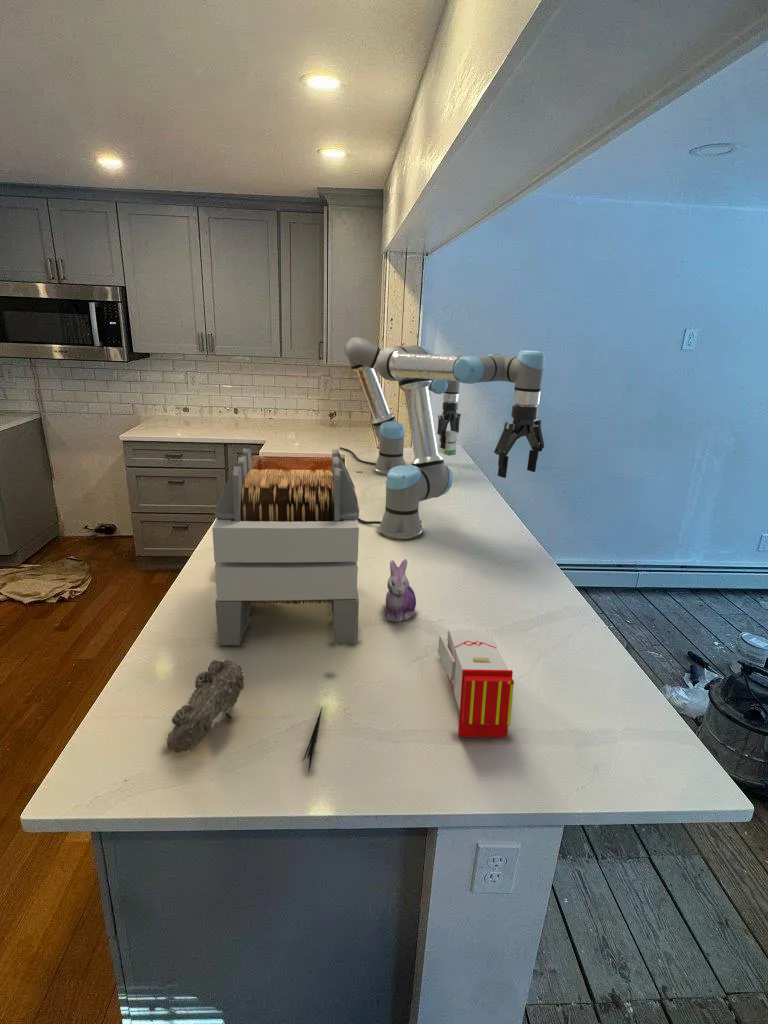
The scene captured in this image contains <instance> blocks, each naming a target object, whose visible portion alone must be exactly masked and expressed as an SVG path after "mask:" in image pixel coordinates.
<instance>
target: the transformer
mask: <svg viewBox="0 0 768 1024" xmlns="http://www.w3.org/2000/svg"><path fill="white" fill-rule="evenodd" d="M331 454H332V455H331V458H332V459H331V469H325V470H324V469H315V470H311V469H289V470H283V469H281V468H280V469H278V468H277V469H273V468H271V469H269V468H266V469H265V468H260V469H259V468H258V469H257V468H252V466H253V465H252V452H251V448H243V449H242V451H241V453H240V455H239V457H238V460H237V462H236V464H235V465H234V466H233V468H232V470H231V473H230V475H229V477H228V479H227V482H226V484H225V486H224V488H223V491H222V492H221V495H220V497H219V499H218V501H217V504H216V506H215V509H214V517H215V518H216V520H214V523H213V525H212V543H213V544H212V545H213V561H214V563H215V564H216V562H217V564H216V567H215V566H214V574H215V591H216V599H215V604H214V605H215V619H216V620H215V621H216V629H217V641H218V642H217V646H219V647H220V646H221V647H225V646H240V644H241V643H242V640H243V637H244V634H245V632H246V629H247V627H248V624H249V615H251V611H252V606H253V605H272V604H273V605H278V604H279V605H281V604H282V605H290V604H292V605H297V604H299V605H300V604H309V605H310V604H315V605H316V604H331V623H332V624H331V626H332V644H351V645H355V644H356V643H357V642H359V607H360V605H359V603H360V598H359V591H358V575H359V574H358V571H359V566H358V562H359V538H360V537H359V535H360V526H359V521H358V520H357V518H359V517H360V507H359V503H358V497H357V493H356V486H355V484H354V482H353V480H352V477H351V475H350V473H349V471H348V468H347V466H346V464H345V462H344V460H343V458H342V455H341V454H340V451H339V450H338V449H332V453H331Z"/></svg>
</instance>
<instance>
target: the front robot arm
mask: <svg viewBox="0 0 768 1024" xmlns="http://www.w3.org/2000/svg"><path fill="white" fill-rule="evenodd" d="M545 356H546V355H545V353H544V352H542V351H540V350H539V351H538V350H520V351H519V352H518V355H517V356H513V355H506V354H505V355H504V354H499V353H497V354H496V353H491V354H487V355H458V354H457V355H456V354H435V353H434V354H433V352H431V350H430V349H429V348H427V347H425V346H422V345H391V346H388V347H385V348H384V349H381V352H380V353H379V355H378V357H377V360H376V368H375V369H376V371H377V373H378V375H379V376H380V377H382V378H383V379H384V380H386V381H390V382H397V383H398V388H399V389H400V390H401V391H403V394H404V399H405V406H406V412H407V418H408V423H409V430H410V437H411V443H412V449H413V456H414V459H413V460H412V461H411V464H405V466H404V465H400V466H396V467H394V468H392V469H390V470H389V472H388V474H387V475H386V479H385V504H384V505H385V507H384V508H385V509H384V513H383V515H382V519H381V520H369V521H368V520H367V521H366V520H364V519H361V518H359V517H358V518H357V520H358V523H359V522H360V523H362V524H364V525H378V533H379V534H380V535H381V536H382V537H385V538H387V539H389V540H395V541H410V540H415V539H418V538H420V537H421V536H422V535H423V525H422V519H421V518H420V515H419V507H420V506H419V505H420V502H422V501H426V500H430V499H434V498H440V497H441V496H444V495H446V494H448V492H449V491H450V489H451V488H452V486H453V482H454V481H453V480H454V476H453V471H452V469H451V468H450V467H449V465H448V464H445V461H444V458H443V457H442V456H441V455H440V453H438V442H437V436H436V431H435V423H434V417H433V411H432V404H431V398H430V390H428V387H429V385H430V384H431V379H434V380H447V381H459V382H460V383H461V384H467V385H470V384H479V383H490V382H506V383H513V384H514V392H513V399H512V400H513V401H512V403H513V405H512V407H511V417H512V422H509V421H505V423H504V427H503V430H502V433H501V434H500V437H499V438H498V439H499V440H498V442H497V444H496V446H495V448H494V450H493V453H494V454H495V455H497V456H498V462H497V467H498V469H497V477H500V478H503V479H506V478H507V472H508V464H509V456H508V454H509V453H510V451H511V449H512V448H513V446H515V444H516V442H517V440H519V439H520V438H522V437H526V439H527V442H528V444H529V446H530V448H531V449H530V450H529V452H528V458H527V459H528V460H527V467H526V470H527V471H528V472H532V473H536V469H537V462H538V459H539V453H541V452H543V449H544V448H545V441H544V437H543V432H542V419H541V420H540V419H537V418H538V413H539V407H538V406H539V405H540V398H541V389H542V388H541V387H542V381H543V375H544V370H545Z"/></svg>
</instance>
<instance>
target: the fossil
mask: <svg viewBox="0 0 768 1024" xmlns="http://www.w3.org/2000/svg"><path fill="white" fill-rule="evenodd" d="M243 670H244V669H243V667H242V665H240V664H237V662H236V661H235V660H234V659H232V658H231V659H227V658H226V659H224V660H223V661H222V660H217V659H212V660H211V661H210V663H209V665H208V666H207V671H201V672H199V673H198V674H197V675H196V676H195V680H194V684H195V685H194V687H195V689H194V690H193V693H192V694H191V697H190V698H189V700H188V704H184V705H182V706H181V707H180V709H177V710H176V711H175V713H174V715H173V716H172V718H171V723H172V724H173V727H172V730H171V731H170V732H168V734H167V738H166V741H167V742H166V745H167V749H168V750H169V751H173V752H174V753H176V754H178V753H182V752H188V751H189V752H192V751H193V750H195V748H196V747H197V746H199V744H200V743H201V742H203V741H204V740H205V739H206V738H207V737H208V736H209V735H210V734H211V733H212V732H214V730H215V729H217V727H218V726H219V724H220V722H221V721H222V720H223V719H224V718H225V716H226V717H227V719H229V720H233V717H232V715H230V714H229V710H230V709H231V708H234V706H235V704H236V703H237V702H238V699H239V697H240V695H241V693H242V691H243V690H245V689H244V688H245V675H244V671H243Z"/></svg>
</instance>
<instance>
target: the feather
mask: <svg viewBox="0 0 768 1024" xmlns="http://www.w3.org/2000/svg"><path fill="white" fill-rule="evenodd" d="M329 675H330V676H331V675H332V674H331V673H330V674H329ZM322 710H323V707H321V708H320V710H319V713H318V716H317V719H316V723H315V725H314V728H313V731H312V733H311V737H310V739H309V742H308V745H307V748H306V751H305V754H304V757H303V760H302V763H301V767H302V765H303V763H304V761H305V758H308V759H309V760H308V762H307V763H308V764H307V766H308V771H310V770H311V766H312V765H311V764H312V760H313V757H315V756H314V755H315V751H316V749H315V746H317V739H318V733H319V729H320V722H321V717H322V712H323V711H322ZM313 754H314V755H313ZM306 755H307V757H306Z"/></svg>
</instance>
